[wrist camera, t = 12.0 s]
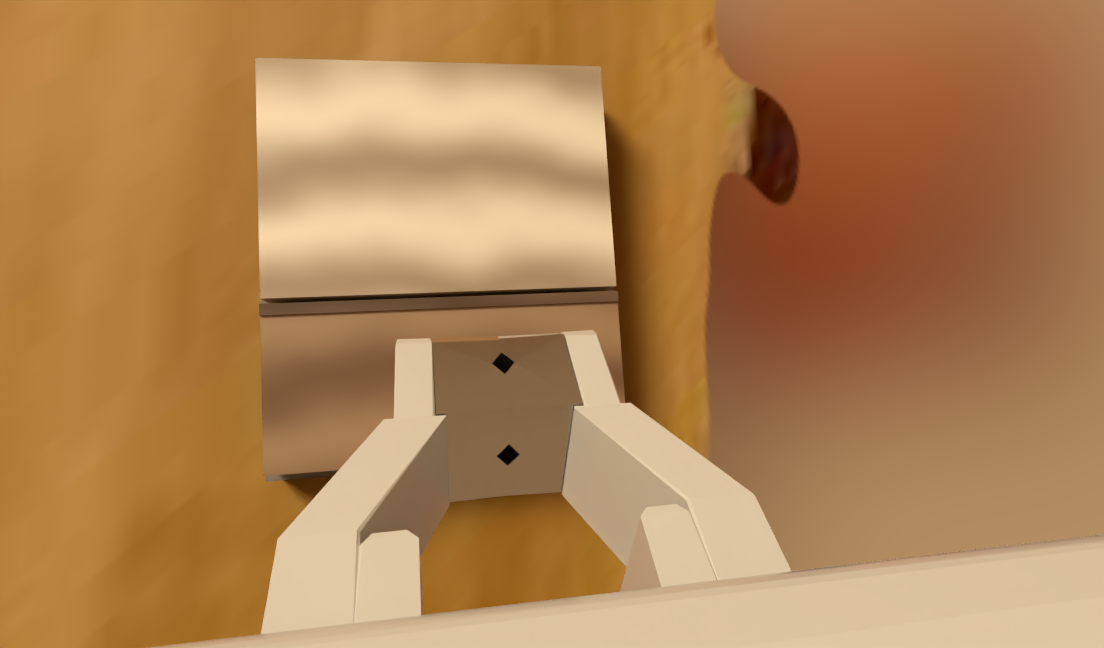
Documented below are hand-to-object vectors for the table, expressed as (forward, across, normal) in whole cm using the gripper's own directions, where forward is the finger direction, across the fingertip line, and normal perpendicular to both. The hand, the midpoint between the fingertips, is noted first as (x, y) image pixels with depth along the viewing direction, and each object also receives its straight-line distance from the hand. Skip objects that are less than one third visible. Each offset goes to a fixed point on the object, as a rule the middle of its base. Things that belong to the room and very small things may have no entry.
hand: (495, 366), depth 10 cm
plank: (+28, 0, +12) cm, 31 cm away
